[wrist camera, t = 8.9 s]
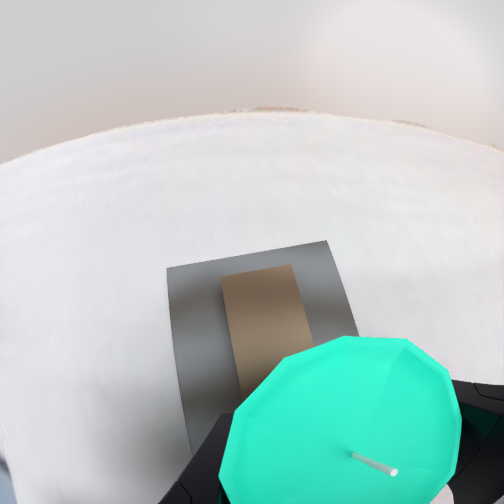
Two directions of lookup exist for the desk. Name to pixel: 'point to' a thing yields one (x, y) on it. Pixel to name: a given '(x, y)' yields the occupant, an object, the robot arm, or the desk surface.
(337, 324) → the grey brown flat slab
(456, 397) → the robot arm
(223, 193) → the desk surface
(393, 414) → the candle
